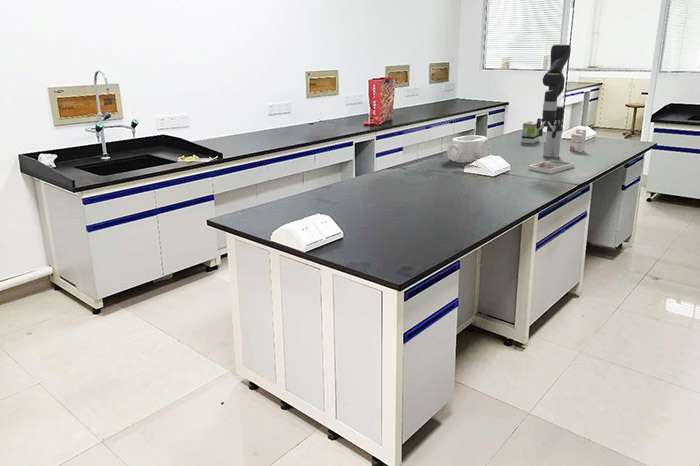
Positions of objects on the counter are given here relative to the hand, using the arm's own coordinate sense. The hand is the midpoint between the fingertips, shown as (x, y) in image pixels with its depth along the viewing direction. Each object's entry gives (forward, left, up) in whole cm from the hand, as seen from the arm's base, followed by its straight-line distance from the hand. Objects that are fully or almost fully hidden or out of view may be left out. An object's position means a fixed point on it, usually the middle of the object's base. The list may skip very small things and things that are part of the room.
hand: (547, 137), depth 321 cm
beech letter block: (0, 0, -20) cm, 20 cm away
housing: (-52, -5, -20) cm, 56 cm away
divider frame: (0, +8, -20) cm, 22 cm away
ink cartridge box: (-20, +69, -20) cm, 75 cm away
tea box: (-64, +77, -20) cm, 102 cm away
